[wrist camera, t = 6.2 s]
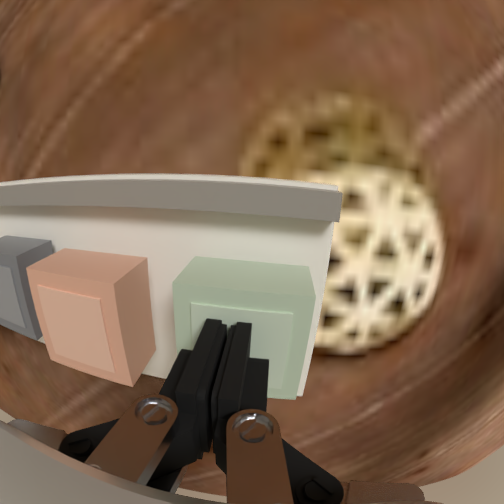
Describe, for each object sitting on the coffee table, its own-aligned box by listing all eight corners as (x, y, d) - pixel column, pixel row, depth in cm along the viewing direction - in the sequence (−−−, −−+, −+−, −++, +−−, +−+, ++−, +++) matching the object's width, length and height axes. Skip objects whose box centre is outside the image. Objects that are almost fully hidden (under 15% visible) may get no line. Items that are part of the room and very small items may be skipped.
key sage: (308, 266, 13) (316, 297, 10) (294, 358, 14) (295, 401, 11) (195, 255, 13) (171, 283, 10) (197, 347, 14) (180, 387, 11)
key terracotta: (147, 257, 12) (112, 284, 9) (156, 349, 14) (132, 388, 11) (64, 247, 13) (24, 268, 10) (79, 331, 14) (50, 360, 11)
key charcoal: (51, 240, 14) (14, 256, 11) (65, 316, 15) (36, 341, 12) (6, 235, 14) (-27, 248, 11) (19, 302, 16) (-8, 321, 13)
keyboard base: (334, 184, 13) (342, 188, 11) (301, 385, 17) (302, 407, 15) (-30, 186, 15) (-46, 190, 13) (-8, 312, 19) (-21, 322, 17)
